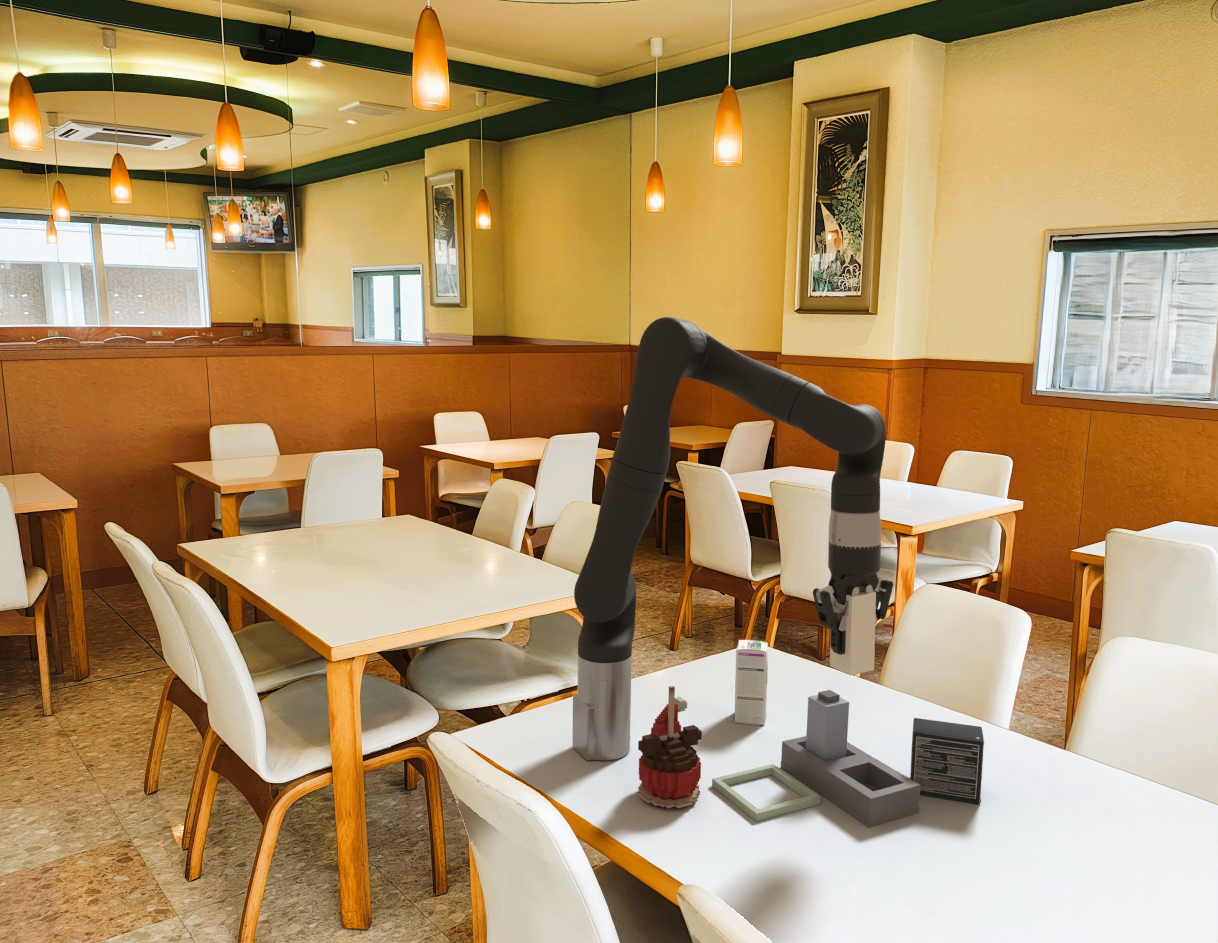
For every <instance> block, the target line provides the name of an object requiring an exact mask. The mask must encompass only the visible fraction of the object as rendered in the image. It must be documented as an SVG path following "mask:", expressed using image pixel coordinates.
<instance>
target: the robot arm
mask: <svg viewBox="0 0 1218 943" xmlns="http://www.w3.org/2000/svg"><path fill="white" fill-rule="evenodd" d="M635 360H636V361H635V367H634V372H633V379H632V384H631V390H630V394H629V395H630V396H629V399H628V403H627V406H626V410H625V413H624V416H623V420H622V424H621V428H620V431H619V435H618V438H617V442H616V446H615V448H614V451H613V455H612V458H611V462H610V465H609V469H608V472H607V475H606V476H607V477H606V480H605V484H604V490H603V493H602V498H601V502H600V506H599V510H598V516H597V521H596V522H597V523H596V527H595V531H594V534H593V538H592V541H591V543H590V544H591V545H590V546H589V549H588V551H587V555H586V557H585V560H584V563H583V565H582V567H581V570H580V572H579V574H578V577H577V580H576V582H575V585H574V589H573V597H574V598H573V599H574V604H575V606H576V609H577V611H578V613H580V615H581V616H582V617H583V619H582V626H581V630H580V632H579V636H578V640H577V694H574V695H573V696H572V748H573V749H575V750H576V752H577V753H578V754H579V755H581V757H583V758H584V759H585V760H586V761H614V760H618V759H620V758H624V757H625V756H627V755H628V754H629V752H630V750H631V715H632V714H631V709H632V708H631V707H632V697H631V696H632V660H633V659H632V652H633V651H632V650H633V640H634V637H635V636H634V635H635V629H636V610H637V609H636V608H637V583H636V580H635V579H636V578H635V576H634V573H633V571H632V565H633V561H634V558H635V555H636V554H635V553H636V550H637V548H638V545H639V543H640V541H641V538H642V537H643V535H644V532H645V530H646V529H647V526H648V525H649V522H650V520H651V518H652V516H653V514H654V512H655V509H656V507H657V504H658V502H659V499H660V496H661V493H662V491H663V487H664V485H665V484H664V483H665V481H666V477H667V473H668V470H669V465H670V462H671V461H670V460H671V430H670V427H671V414H672V413H671V411H672V407H673V403H674V400H675V397H676V393H677V391H678V388H679V384H680V382H681V380H682V378H688V379H692V380H697V381H699V382H704V383H708V384H710V385H713V386H716V387H718V388H720V389H723V390H725V391H727V392H729V393H731V394H732V395H734V396H735V397H737V398H739V399H740V400H742V401H744V402H745V403H747V405H749V406H751V407H753V408H755V409H756V410H758V411H760V412H762V413H763V414H765V415H768V416H770V417H771V418H773V419H776V420H778V421H780V422H783V423H785V424H786V425H789V426H791V427H793V428H796V429H799V430H801V431H803V432H804V433H805V434H807V435H809V436H810V437H811V438H813V439H814V440H816V441H817V442H819V443H821V444H822V445H825V446H826V447H828V448H829V449H830V450H833V451H836V452H837V453H838V455H837V456H838V457H837V458H838V459H837V467H836V471H835V472H834V474H833V475H832V480H831V486H830V489H831V490H830V514H829V515H830V516H829V521H828V547H827V548H828V553H827V554H828V558H827V559H828V562H827V565H828V570H829V572H830V578H829V581H828V585H826V586H825V587H823V588H817V587H815V588H814V589H813V590H812V595H813V600H814V604H815V608H816V615H817V618H818V622H819V624H820V625H821V626H824V627H827V628H828V629H831V645H830V644H829V647H830V646H831V649H832V650H833V652H835V653H837V654H839V655H842V654H845V637H846V631H844V630H845V628H846V617H847V616H848V615H849V601H846V595H850V596H855V595H858V594H859V588H858V587H857V586H863V592H865V593H872V592H876V611H875V625H876V624H877V623H878V621H879V620H885V619H886V617H887V614H888V609H889V604H890V599H891V596H892V591H893V586H894V582H893V581H892V580H889V579H886V578H882V577H879V576H878V575H877V573H879V572H880V570H881V555H882V554H881V552H882V550H881V548H882V546H881V545H882V521H881V511H880V510H881V472H882V467H883V463H884V457H885V456H884V454H885V448H886V437H887V436H886V435H887V432H886V431H887V430H886V422H885V419H884V417H883V415H882V414H881V413H880V411H879V410H878V409H877V408H876V407H874V406H872V405H870V404H869V405H868V404H864V403H862V404H854V405H851V404H849V403H846V402H844V401H842V400H840V399H837V398H835V397H833V396H831V395H828V394H826V391H825V390H823V389H822V388H821V387H820V386H818V385H816V384H814V383H811V382H810V381H807V380H805V379H803V378H801V377H798V376H796V375H794V374H791V373H788V372H787V371H784V370H781V369H780V368H776V367H774V366H772V365H771V366H770V365H768V364H765V363H763V362H761V361H758V360H755V359H753V358H751V357H748V356H747V355H744V354H742V353H741V352H738V351H736V350H735V349H733V348H731V347H729V346H727V345H726V344H724V343H723V342H721V341H720V340H718V339H717V338H715V337H714V336H712V335H711V334H709V333H708V332H706V331H705V330H704V329H702V328H700V327H699V326H698V325H696V323H693V322H691V321H689V320H685V319H681V318H676V317H670V316H669V317H668V316H664V317H660V318H657V319H656V320H654V321H652V322H651V323H650V324H649V325H648V326H647V327H646V328H645V330H644V331H643V333H642V336H641V338H640V341H639V344H638V349H637V354H636V359H635ZM832 594H833V598H832ZM831 601H832V602H831ZM836 601H837V602H838V603H839V604H841V605H845V603H846V605H845V608H844V609H840V608H838V607H837V606H836ZM838 613H839V614H840V619H839V621H837V614H838Z"/></svg>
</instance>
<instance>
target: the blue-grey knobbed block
mask: <svg viewBox="0 0 1218 943" xmlns="http://www.w3.org/2000/svg"><path fill="white" fill-rule="evenodd" d="M840 696H841V695H840V694H839V693H837V692H835V691H833V690H831V689H827V690H823V691H818V694H816V695H811V696H808V697H807V715H806V716H807V719H806V735H805V736H806V749H807V750H808V751H810V752H811V753H813V754H815V755H816V756H818V757H819V758H821V759H822V760H824V761H826V762H828V761H832V760H836V759H840V758H844V757H846V751H847V742H848V732H849V731H848V730H849V713H850V712H849V711H850V702H849V701H848V700H846V699H844V698H843V697H840Z"/></svg>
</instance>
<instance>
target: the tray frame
mask: <svg viewBox="0 0 1218 943" xmlns="http://www.w3.org/2000/svg"><path fill="white" fill-rule="evenodd" d="M766 776H773V777H774V778H776V779H777V780H779V781H780V782H782V783H783V784H784V785H785V786H787V787H788V788H790V789H791V790H793V791H794V792H795V793H797V794H798V795H800V796H801V797H799V798H796V799H795V798H794V799H792V800H788V801H784V802H781V803H777V804H774V805H770V806H766V807H761V808H757V807H756V806H755V805H754V804H752V803H751V802H749V800H747V799H746V798H744V797H743V795H741V794H740V793H738V792H737V791H735V789H733V788H732V787H731V785H735V784H739V783H743V782H747V781H751V780H754V779H755V780H756V779H759V778H763V777H766ZM711 781H712V782H711V786H712V787H713V788H714V789H715V790H716V791H718V792H719V793H720V794H722V795H723V796H724V797H725V798H726V799H727V800H729V801H731V802H732V803H733V804H734V805H735V806H737V807H738V808H739V810H740V809H741V811H743V812H744V813H745V814H746V815H748V816H749V817H750V818H752V819H753V820H754V821H755V822H760V821H763V820H766V819H770V818H775V817H777V816H781V815H784V814H785V815H786V814H788V813H792V812H795V811H796V812H797V811H800V810H803V809H806V808H810V807H814V806H817V805H820V804H821V795H820V794H817V792H816V791H815V792H814V790H813V789H811V788H810V787H809V788H808V786H807V785H806V786H805V784H804V783H803V782H801V781H800V780H797V778H794V776H792V775H791V774H789V773H788V772H787V771H786V772H785V770H784V769H782V768H781V767H778V766H777V765H775V764H774V763H770V764H768V765H762V766H758V767H755V768H751V769H747V770H742V771H738V772H733V773H729V774H726V775H722V776H718V777H712V779H711Z"/></svg>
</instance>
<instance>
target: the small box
mask: <svg viewBox="0 0 1218 943" xmlns="http://www.w3.org/2000/svg"><path fill="white" fill-rule="evenodd" d="M984 747H985V740H984V733H983V727H982V726H978V725H971V724H963V723H956V722H955V723H954V722H949V721H948V722H947V721H940V720H933V719H925V718H919V717H914V718H913V726H912V737H911V756H910V772H909V773H910V774H909V775H910V776H909V777H910V779H911V780H913V781H915V782H916V783H918V784H920V796H925V797H932V798H937V799H938V798H939V799H943V800H951V801H956V802H963V803H969V804H974V805H975V804H976V805H980V804H981V802H982V798H981V797H982V796H981V793H982V792H981V790H982V779H983V778H982V777H983V762H984V761H983V760H984Z"/></svg>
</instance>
